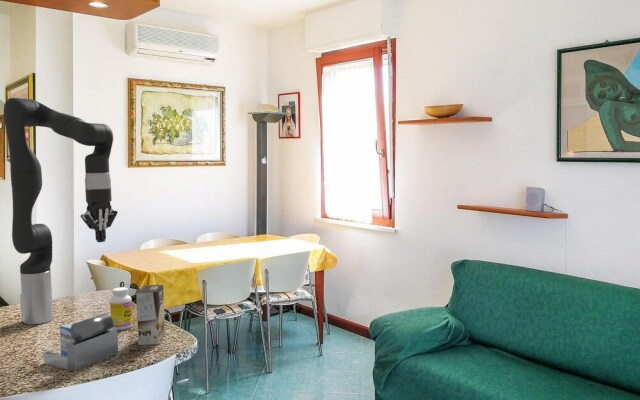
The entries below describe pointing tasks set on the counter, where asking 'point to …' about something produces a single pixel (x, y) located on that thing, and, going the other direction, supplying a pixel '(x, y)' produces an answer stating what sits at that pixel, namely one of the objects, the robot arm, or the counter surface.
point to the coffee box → (150, 314)
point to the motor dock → (87, 344)
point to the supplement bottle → (121, 309)
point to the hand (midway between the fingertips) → (100, 241)
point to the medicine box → (65, 337)
